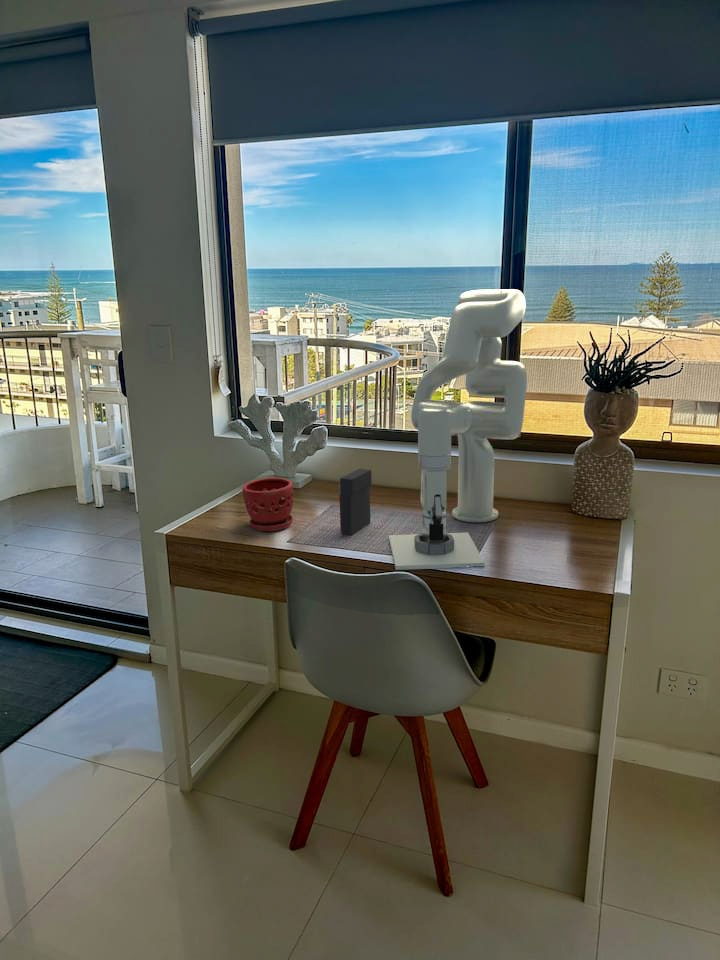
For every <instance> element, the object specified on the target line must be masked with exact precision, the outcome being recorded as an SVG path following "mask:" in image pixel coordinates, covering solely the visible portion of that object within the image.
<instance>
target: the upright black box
mask: <svg viewBox="0 0 720 960" xmlns="http://www.w3.org/2000/svg"><path fill="white" fill-rule="evenodd" d="M372 479H373V478H372V469H365V468H358V469H356V470H354V471H352V472H350V473H348V474H346V475H343V476H342V477H340V478H339V497H338V498H339V522H340V527H339V528H340V531H341V534H342V533H343V534H344V535H348V534H349V536H353V535H354V534H356V533H358V532H359V531H360V530H362V529H363V528H365V527H366V526H368V525H370V524H371V492H370V491H371V489H370V488H371V485H372V483H373V482H372ZM367 524H368V525H367ZM364 526H365V527H364ZM361 528H362V529H361ZM358 530H359V531H358ZM355 532H356V533H355ZM343 534H342V535H343ZM352 534H353V535H352Z"/></svg>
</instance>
